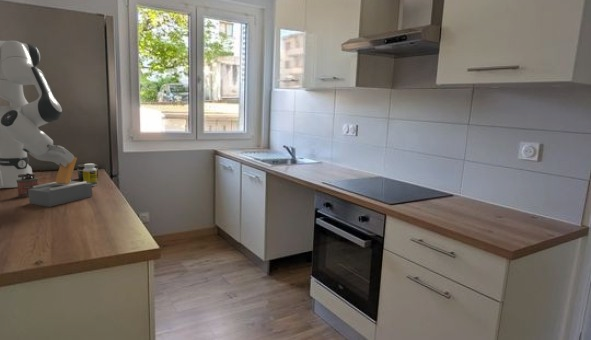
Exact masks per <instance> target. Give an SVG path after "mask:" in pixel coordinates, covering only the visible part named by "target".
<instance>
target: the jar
mask: <svg viewBox="0 0 591 340" xmlns="http://www.w3.org/2000/svg"><path fill="white" fill-rule="evenodd" d="M84 164H85V163H83V164H82V163H81V164H78V165H77V166H76V167H77V177H78V179H79V180H80V181H83V169H84V168H85V167H84ZM94 164H95V167H94V168H96V170H97V179H98V177H99V165H98V164H96V163H94Z"/></svg>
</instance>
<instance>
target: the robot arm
mask: <svg viewBox="0 0 591 340" xmlns="http://www.w3.org/2000/svg"><path fill="white" fill-rule="evenodd" d="M40 61H41V53H40V51H39V49H38V48H37V46H36V45H34V44H30V43H24V42H20V41H18V40H11V39H10V40H0V99H3V100H4V101H7V102H9V105H0V189H5V188H6V189H9V188H10V189H11V188H18V186H17V181H16V180H18V179H22V177H18V175H19V174H26V173H29V174H33V169H32V166H31V165H29V163H30V161H29V160H30V159H29V156H28V154H29V155H30V156H32V158H34V159H36V160H38V161H45V162H52V163H55V164H56V165H58V166H59V167H60V166H61V167H66V166H67V165H68V164H67V163H71V161H72V160H73V159H74V157H75V155H74V154H73V153H71V152H70V151H69V150H68V149H66V148H65V147H63V146H61V145H55V144H54V140H53V139H52V138H51V137H50V136H49V135H48V134H47V133H45V132H44V131H43V130H40V129H39V127H42V126H44V125H47V124H49V123H52V122H55V121H58V120H60V119H61V117H62V115H63V114H62V113H63V108H62V106H61V104H60V103H59V101H58V99H57V98H56V96H55V93H54V92H53V90H52V87H51V85H50V83H49V81H48V79H47V77H46V76H45V74H44V72H43V71H42V70H41V69H40V68H38V67H37V66H38V65H39V64H40ZM30 85H33V86H34V87H35V89H36V92H37V93H38V98H36V100H33V101H31V102H28V100H27V99H26V96H25V94H24V86H30ZM31 177H32V176H31ZM24 179H25V177H24Z"/></svg>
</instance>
